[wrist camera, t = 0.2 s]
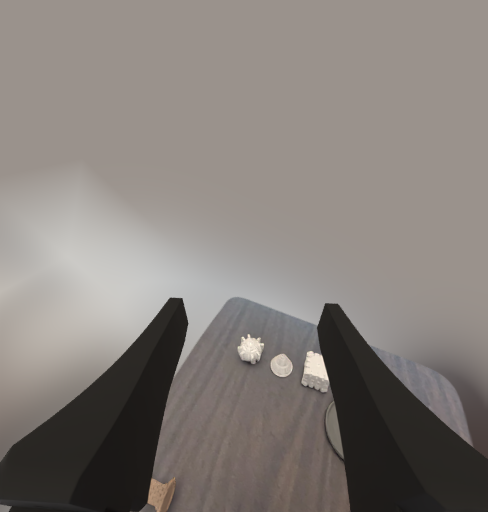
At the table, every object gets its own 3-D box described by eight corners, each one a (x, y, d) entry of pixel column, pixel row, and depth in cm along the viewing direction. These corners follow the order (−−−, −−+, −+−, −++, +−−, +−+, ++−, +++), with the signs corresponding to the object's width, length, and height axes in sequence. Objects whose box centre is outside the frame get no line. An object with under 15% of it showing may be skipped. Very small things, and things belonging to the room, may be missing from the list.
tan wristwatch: (166, 524, 20) (151, 517, 17) (121, 502, 21) (99, 491, 18) (181, 484, 22) (170, 471, 19) (139, 465, 23) (123, 450, 20)
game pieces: (328, 369, 31) (333, 356, 29) (325, 395, 28) (331, 382, 26) (244, 342, 34) (243, 329, 32) (235, 362, 32) (234, 349, 30)
